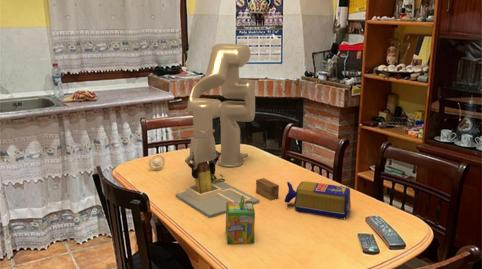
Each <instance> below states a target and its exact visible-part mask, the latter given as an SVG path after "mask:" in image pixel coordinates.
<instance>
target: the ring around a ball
mask: <svg viewBox="0 0 482 269" xmlns="http://www.w3.org/2000/svg"><path fill="white" fill-rule="evenodd" d="M165 162H166V161H165V157H164V156H163V155H162V154H159V153H156V154H153V155H151V156H150V158H149V159H148V166H149V168H150V169H151V170H153V171H158V170H161V169H162V168H164V166H165ZM153 166H154V167H153Z"/></svg>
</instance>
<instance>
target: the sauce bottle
mask: <svg viewBox="0 0 482 269" xmlns="http://www.w3.org/2000/svg"><path fill="white" fill-rule="evenodd" d="M196 169H197V170H198V178H197V179H195V178H194V180H195V184H196V190H197V192H198V193H200V194H202V193H206V192H209V191H212V186H211V177H210V167H209V161H207V162H202V163H199V164H198V166H197V168H196Z"/></svg>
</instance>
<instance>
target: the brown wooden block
mask: <svg viewBox="0 0 482 269" xmlns="http://www.w3.org/2000/svg"><path fill="white" fill-rule="evenodd" d="M279 188H280V185H279V184H277V183H275V182H273V181H271V180H268V179H267V178H264V177H263V178H262V177H261V178H259V179H255V194H257V195H259V196H261V197H262V198H265V199H266V200H268V201H270V202H272V201H275V199H276V200H279V192H280V191H279V190H280V189H279Z"/></svg>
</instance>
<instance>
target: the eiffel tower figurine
mask: <svg viewBox="0 0 482 269" xmlns="http://www.w3.org/2000/svg"><path fill="white" fill-rule="evenodd" d="M209 164H210V161H208V165H209ZM219 176H220V177H221V178H217V176H216V175H215V174H214V175H213V174H211V173H210V177H211V183H212V184H216V183H220V182H225V181H226V179H225V178H224V176H223V175H222V173H221V174H219ZM225 183H226V182H225Z"/></svg>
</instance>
